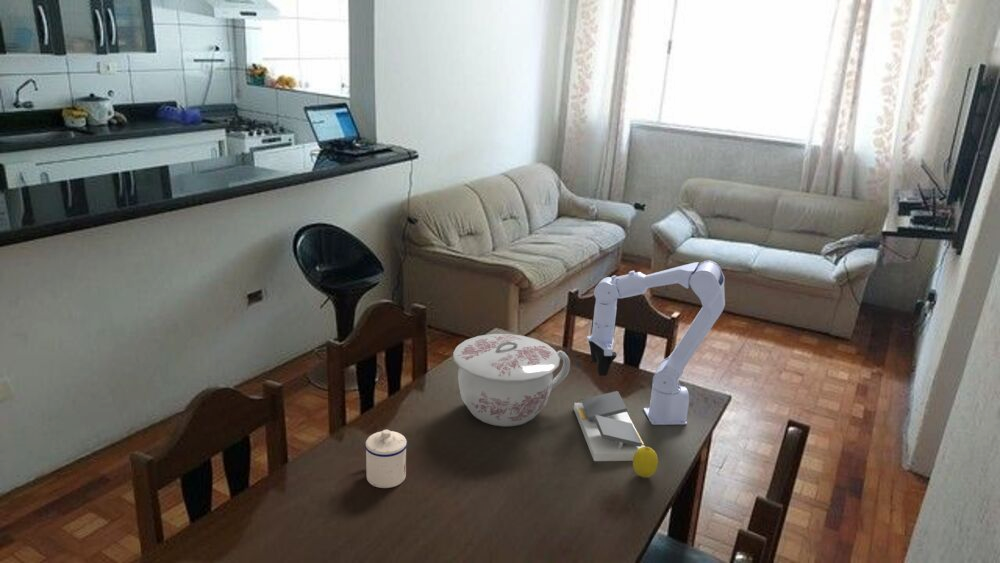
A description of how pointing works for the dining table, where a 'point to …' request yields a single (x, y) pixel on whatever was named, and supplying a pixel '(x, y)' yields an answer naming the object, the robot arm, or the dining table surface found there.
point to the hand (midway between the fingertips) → (599, 368)
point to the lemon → (645, 461)
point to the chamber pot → (507, 377)
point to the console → (601, 446)
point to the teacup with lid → (386, 459)
